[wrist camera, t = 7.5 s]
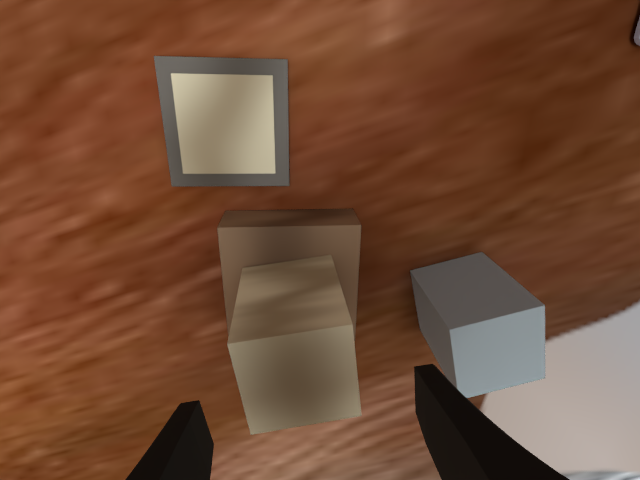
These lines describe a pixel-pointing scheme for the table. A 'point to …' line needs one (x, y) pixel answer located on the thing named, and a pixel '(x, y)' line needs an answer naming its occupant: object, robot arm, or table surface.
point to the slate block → (480, 324)
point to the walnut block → (289, 246)
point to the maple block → (293, 346)
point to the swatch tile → (225, 120)
